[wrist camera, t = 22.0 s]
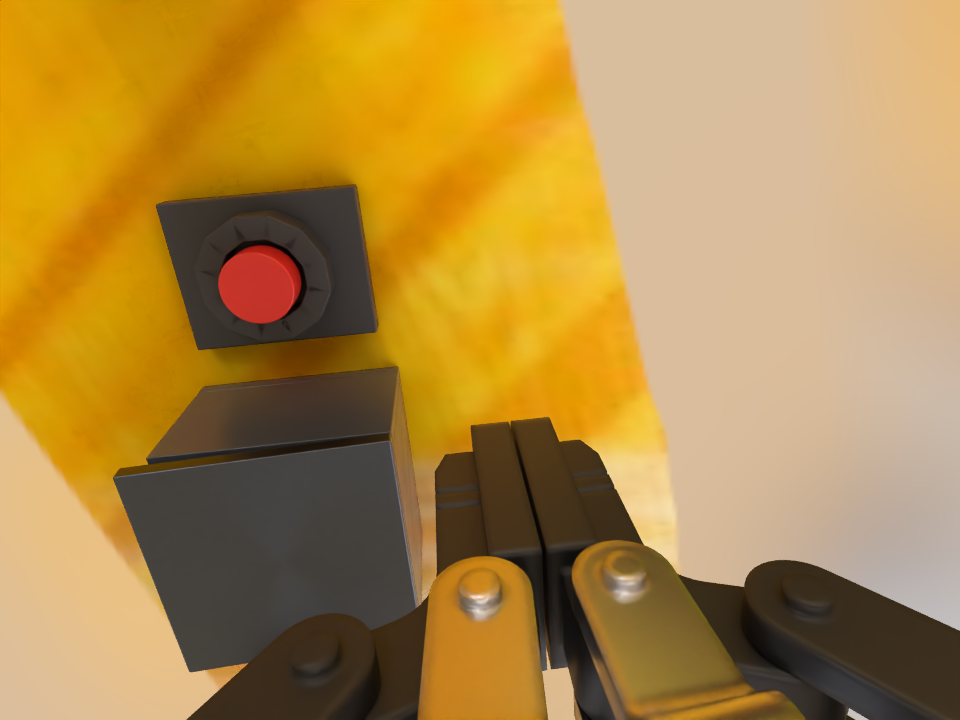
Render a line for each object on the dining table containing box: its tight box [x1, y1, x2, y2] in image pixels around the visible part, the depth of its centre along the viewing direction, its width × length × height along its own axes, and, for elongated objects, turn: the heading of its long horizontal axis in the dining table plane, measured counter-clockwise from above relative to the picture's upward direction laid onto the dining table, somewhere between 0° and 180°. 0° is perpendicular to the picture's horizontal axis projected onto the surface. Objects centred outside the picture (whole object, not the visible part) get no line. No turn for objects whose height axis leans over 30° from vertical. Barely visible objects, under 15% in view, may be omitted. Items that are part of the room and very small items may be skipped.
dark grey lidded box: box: [146, 367, 422, 606], centre depth 34 cm, size 12×13×8 cm
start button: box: [218, 245, 301, 324], centre depth 29 cm, size 4×4×2 cm
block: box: [156, 185, 378, 350], centre depth 31 cm, size 8×10×3 cm
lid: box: [113, 433, 418, 672], centre depth 30 cm, size 12×13×1 cm
